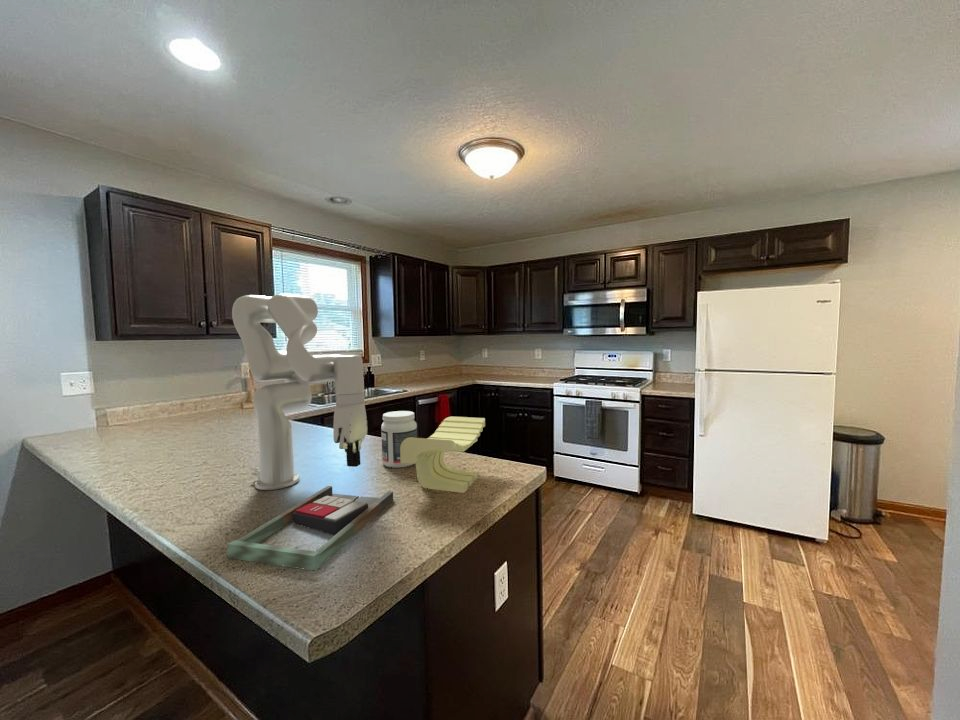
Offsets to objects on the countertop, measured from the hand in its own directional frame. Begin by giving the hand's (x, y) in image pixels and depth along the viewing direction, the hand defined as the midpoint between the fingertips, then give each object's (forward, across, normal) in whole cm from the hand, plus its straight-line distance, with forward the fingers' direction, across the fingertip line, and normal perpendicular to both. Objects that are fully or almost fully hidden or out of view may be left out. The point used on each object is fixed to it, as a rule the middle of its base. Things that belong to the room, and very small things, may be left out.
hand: (353, 465), depth 107 cm
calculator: (+11, +10, -1) cm, 15 cm away
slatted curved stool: (+11, -20, +20) cm, 31 cm away
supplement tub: (+10, -34, -3) cm, 36 cm away
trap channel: (+11, +13, -1) cm, 17 cm away
